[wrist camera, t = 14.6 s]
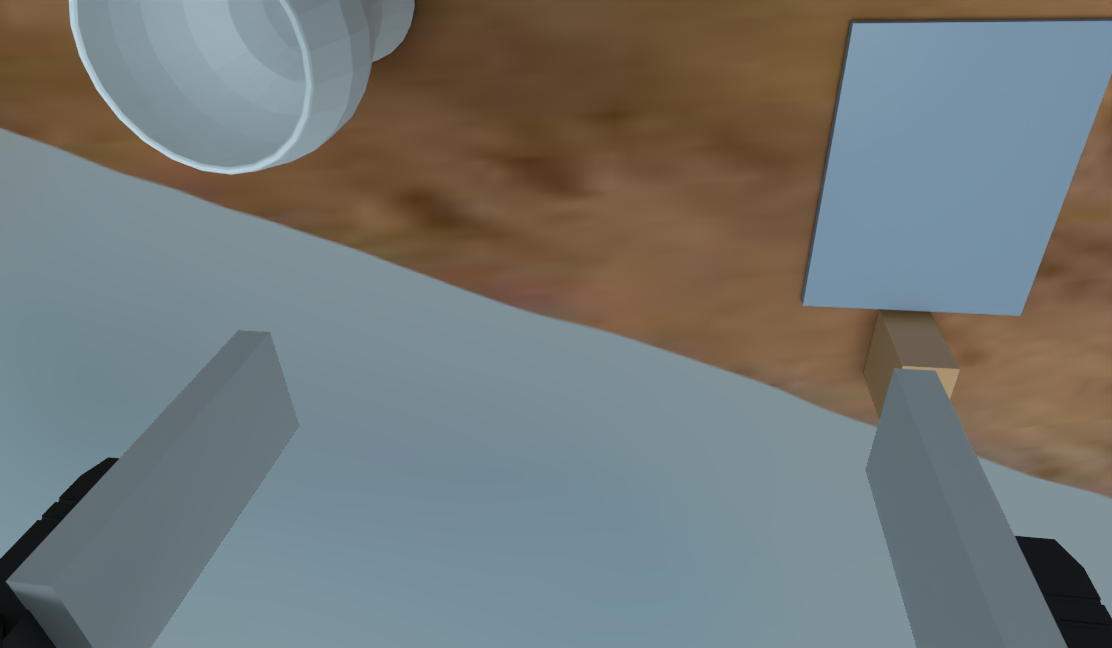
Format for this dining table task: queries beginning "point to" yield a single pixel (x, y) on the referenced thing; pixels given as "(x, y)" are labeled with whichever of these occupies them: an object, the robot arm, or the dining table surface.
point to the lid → (949, 173)
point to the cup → (235, 71)
